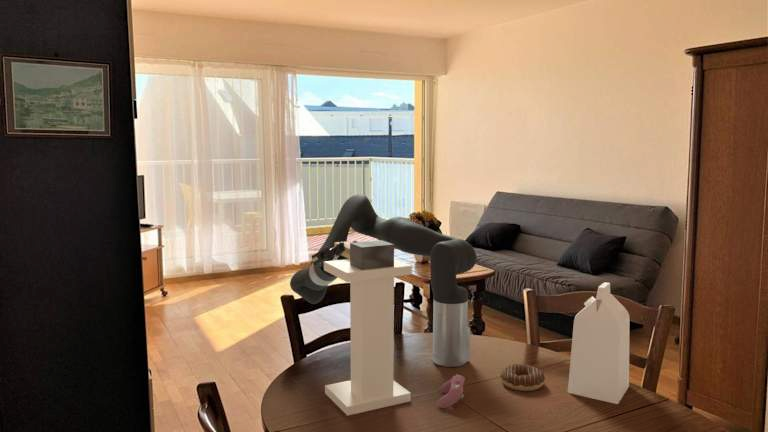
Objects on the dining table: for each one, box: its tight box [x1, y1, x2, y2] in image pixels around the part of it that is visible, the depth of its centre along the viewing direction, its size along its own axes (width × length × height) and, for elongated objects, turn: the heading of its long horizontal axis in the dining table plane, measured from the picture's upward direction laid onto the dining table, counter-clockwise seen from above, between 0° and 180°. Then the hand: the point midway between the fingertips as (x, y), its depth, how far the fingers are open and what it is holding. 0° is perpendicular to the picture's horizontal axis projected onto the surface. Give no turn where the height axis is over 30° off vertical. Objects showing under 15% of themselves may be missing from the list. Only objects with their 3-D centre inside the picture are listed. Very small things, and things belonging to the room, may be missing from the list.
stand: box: [324, 258, 413, 416], centre depth 141 cm, size 16×13×32 cm
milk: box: [567, 281, 630, 405], centre depth 146 cm, size 12×12×26 cm
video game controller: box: [436, 373, 466, 409], centre depth 141 cm, size 10×5×7 cm, turn 169°
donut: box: [500, 363, 546, 392], centre depth 151 cm, size 11×11×4 cm
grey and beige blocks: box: [334, 240, 395, 270], centre depth 143 cm, size 8×21×5 cm, turn 27°
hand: (349, 245), depth 147 cm, fingers closed on grey and beige blocks, 3 cm apart
